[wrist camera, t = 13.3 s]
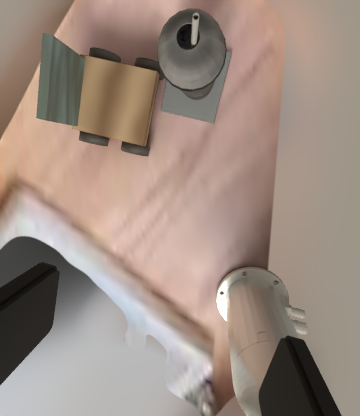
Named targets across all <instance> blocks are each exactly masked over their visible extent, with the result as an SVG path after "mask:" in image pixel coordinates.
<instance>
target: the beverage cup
mask: <svg viewBox="0 0 360 416" xmlns="http://www.w3.org/2000/svg"><path fill="white" fill-rule="evenodd" d="M226 52H227V50H226V43H225V38H224V35H223V33H222V31H221V29H220V27H219V24H218V23H217V22H216V21H215V19H214V18H213V17H212V16H211V15H210V14H208V13H206V12H204V11H202V10H200V9H186V10H183V11H179V12H178V13H176V14H175V15H174V16H172V17H171V18H170V19H169V20H168V22H167V23H166V24H165V26H164V27H163V29H162V32H161V35H160V37H159V42H158V61H159V66H160V70H161V72H162V74H163V76H164V78H165V79H166V80H167V81H168V82H169V83H170V84H171V85H172V86H173V87H176V88H178V89H180V90H181V91H182V92H183V93H184V94H185V95H186V96H187V97H189V98H190V99H192V100H201V99H203V98H205V97H206V96H207V95H208V94H209V93H210V91H211V89H212V87H213V85H214V82H215V79H216V78H217V77H218V76H219V75H220V73H221V71H222V69H223V66H224V64H225V59H226Z"/></svg>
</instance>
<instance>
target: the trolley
mask: <svg viewBox="0 0 360 416" xmlns="http://www.w3.org/2000/svg"><path fill="white" fill-rule="evenodd" d="M120 61H121V59H120V57H118V56H117V55H115V54H114V53H111V52H109V51H107V50H104V49H100V48H90V53H89V56H86V55H81V54H80V55H79V54H77V53H76V52H75V51H73V50H72V49H71V48H69V47H68V46H67V45H65V44H64V43H63V42H61V41H60V40H58V39H57V38H56V37H54V36H53V35H49V34H44V33H43V38H42V51H41V64H40V77H39V91H38V104H37V117H36V118H39V119H43V120H47V121H52V122H57V123H62V124H68V125H72V129H75V130H80V136H79V140H80V141H84V142H88V143H92V144H97V145H102V146H108V141H109V138H112V139H116V140H120V141H122V146H121V150H122V151H124V152H128V153H132V154H136V155H142V156H149V151H150V147H147V146H146V143H147V138H148V133H149V128H150V122H151V117H152V112H153V107H154V102H155V96H156V91H157V86H158V81H159V80H163V79H164V76H163V74H162V72H161V70H160V66H159V63H158V62H156V61H153V60H150V59H146V58H137V59H136V62H135V66H131V65H126V64H122V63H120Z"/></svg>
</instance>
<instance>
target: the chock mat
mask: <svg viewBox="0 0 360 416" xmlns="http://www.w3.org/2000/svg"><path fill="white" fill-rule="evenodd" d="M231 53H232V52H229V51H227V52H226V59H225V64H224V66H223V69H222V71H221V73H220V75H219V76H218V77H217V78H216V79H215V82H214V85H213V87H212V89H211V91H210V93H209V94H208V95H207V96H206V97H205V98H203V99H201V100H192V99H190V98H189V97H187V96H186V95H185V94H184V93H183V92H182V91H181V90H180V89H178V88H176V87H173V86H172V85H171V84H170V83H169V82H168V81H166V86H165V91H164V96H163V102H162V107H161V111H163V112H167V113H171V114H176V115H180V116H184V117H189V118H193V119H197V120H201V121H206V122H210V123H214V120H215V116H216V112H217V108H218V104H219V100H220V96H221V92H222V89H223V85H224V81H225V77H226V73H227V69H228V65H229V61H230V57H231Z"/></svg>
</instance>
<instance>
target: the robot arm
mask: <svg viewBox="0 0 360 416" xmlns="http://www.w3.org/2000/svg"><path fill="white" fill-rule="evenodd" d="M243 272H245V273H243ZM58 280H59V271H58V270H57V268H56V266H53V265H50V264H47V263H44V262H41V263H39V264H37V265H36V266H34V267H33V268H31V269H30V270H28V271H26V272H25V273H23V274H22V275H20V276H18V277H17V278H15V279H14V280H12V281H10V282H9V283H7V284H6V285H4V286H2V287H1V288H0V385H1V384H2V383H3V382H4V381H5V380H6V378H7V377H8V376H9V375H10V374H11V373H12V372H13V371H14V370H15V369H16V367H17V366H18V365H19V364H20V363H21V362H22V361H23V360H24V359H25V358H26V357H27V356H28V355H29V353H30V352H31V351H32V350H33V349H34V348H35V347H36V346H37V345H38V344H39V343H40V341H41V340H42V339H43V338H44V337H45V336H46V335H47V334H48V333H49V331H50V330H51V328H52V325H53V319H54V312H55V304H56V296H57V289H58ZM275 280H276V281H275ZM216 302H217V307H218V310H219V312H220V314H221V316H222V317H223V318H224V319H225V320H226V321H227V327H228V337H229V347H230V358H231V368H232V379H233V387H234V391H235V394H236V397H237V400H238V402H239V404H240V406H241V408H242V409H243V411H244V412H245V414H246V415H247V416H341V414H340V412H339V410H338V408H337V406H336V404H335V402H334V400H333V398H332V396H331V394H330V392H329V389H328V387H327V385H326V383H325V381H324V380H323V377H322V375H321V374H320V371H319V369H318V367H317V365H316V363H315V362H314V359H313V357H312V355H311V353H310V351H309V349H308V347H307V345H306V343H305V342H304V340H302V339H300V338H299V336H298V333H300V334H303V335H305V334H307V331H308V326H307V324H306V323H305V322H301V321H297V320H292V319H290V317H289V316H290V315H292V316H295V317H298V318H302V319H304V318H305V311H304V310H301V309H297V308H292V307H291V305H289V296H288V292H287V290H286V288H285V286H284V284H283V282H282V281H281V280H280V279H279V278H278V277H277V276H276V275H275V274H273V273H272V272H270V271H268V270H266V269H263V268H259V267H243V268H239V269H237V270H234V271H232V272H231V273H229V274H228V275H226V277H225V278H224V279H223V280H222V281H221V283H220V284H219V286H218V289H217V294H216Z"/></svg>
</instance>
